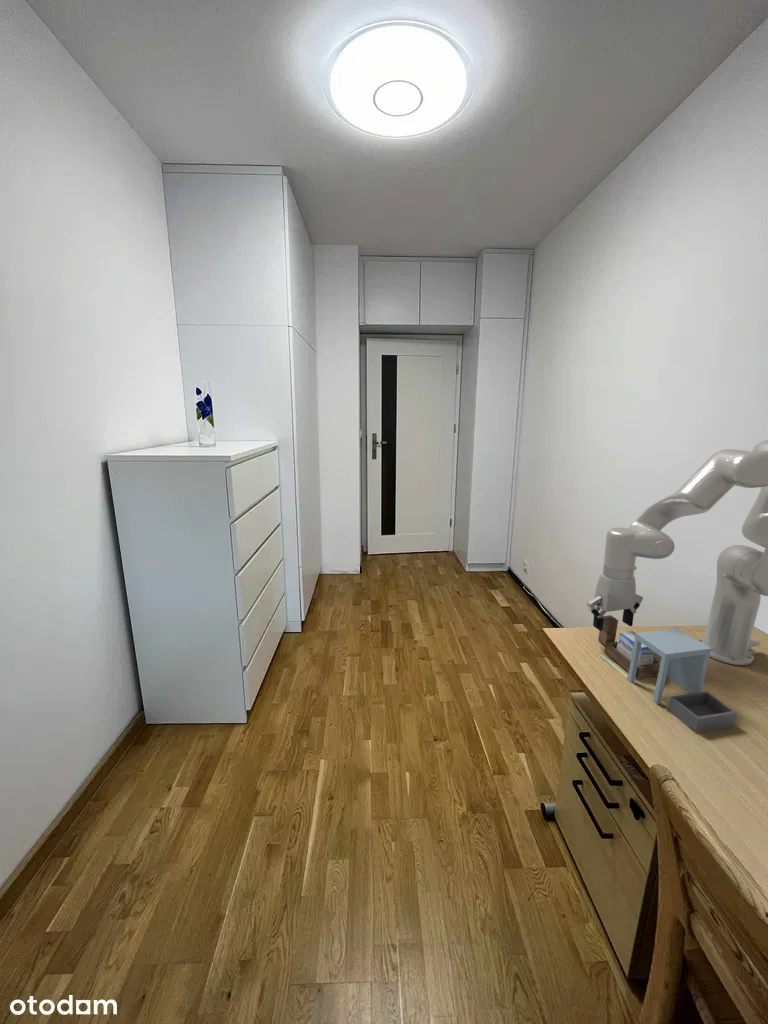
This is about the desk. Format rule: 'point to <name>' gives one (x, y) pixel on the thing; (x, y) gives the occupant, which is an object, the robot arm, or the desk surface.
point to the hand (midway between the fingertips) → (612, 626)
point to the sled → (608, 640)
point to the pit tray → (702, 711)
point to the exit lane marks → (614, 666)
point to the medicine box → (627, 645)
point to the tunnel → (673, 659)
